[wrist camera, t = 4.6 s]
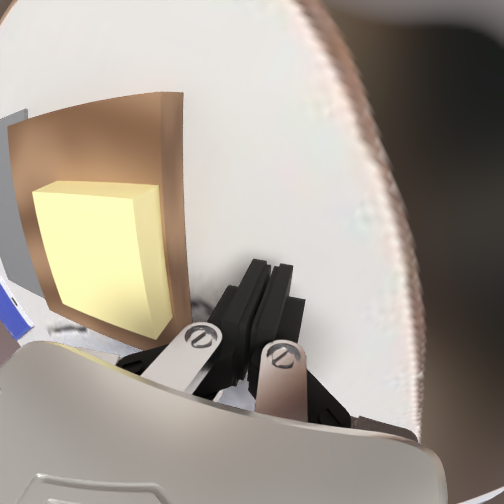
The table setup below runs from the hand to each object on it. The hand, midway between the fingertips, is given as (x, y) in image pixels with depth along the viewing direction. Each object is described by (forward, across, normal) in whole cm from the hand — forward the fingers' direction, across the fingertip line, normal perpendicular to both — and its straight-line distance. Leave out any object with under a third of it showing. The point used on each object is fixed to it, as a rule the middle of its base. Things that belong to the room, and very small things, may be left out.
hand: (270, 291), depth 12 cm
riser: (+3, +12, 0) cm, 13 cm away
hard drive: (+4, +37, +16) cm, 41 cm away
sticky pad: (+1, +9, 0) cm, 9 cm away
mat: (+3, +25, 0) cm, 25 cm away
